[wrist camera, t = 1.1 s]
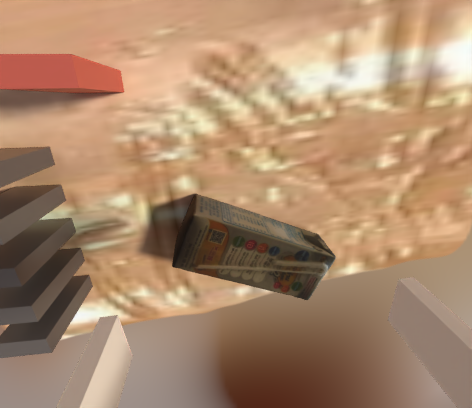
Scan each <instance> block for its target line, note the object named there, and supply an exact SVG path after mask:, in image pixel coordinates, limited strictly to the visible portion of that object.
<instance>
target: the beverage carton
mask: <svg viewBox="0 0 472 408" xmlns="http://www.w3.org/2000/svg"><path fill="white" fill-rule="evenodd" d="M335 258H336V257H335V255H334V254H333V253H332V251H331V250H330V249H329V248H328V246H327V245H326V243H325V242H324V241H323V240H322V239H321V237H320V236H319V235H318V234H315V233H312V232H310V231H306V230H303V229H300V228H297V227H294V226H291V225H289V224H286V223H283V222H280V221H277V220H274V219H271V218H268V217H265V216H262V215H259V214H256V213H253V212H250V211H247V210H244V209H241V208H238V207H235V206H232V205H229V204H226V203H223V202H220V201H217V200H214V199H210V198H208V197H204V196H201V195H198V194H195V196H194V198H193V200H192V202H191V204H190V206H189V208H188V211H187V213H186V215H185V217H184V220H183V222H182V225H181V227H180V230H179V233H178V236H177V240H176V244H175V250H174V257H173V264H172V266H173V267H175V268H180V269H183V270H186V271H191V272H195V273H199V274H204V275H208V276H212V277H216V278H220V279H224V280H229V281H233V282H237V283H241V284H246V285H249V286H253V287H258V288H261V289H265V290H269V291H274V292H278V293H283V294H286V295H292V296H294V297H297V298H302V299H304V300H308V299H309V298H310V297H311V295H312V293H313V292H314V290H315V289H316V287H317V286H318V284H319V283H320V281H321V280H322V278H323V277H324V275H325V274H326V272H327V271H328V269H329V268H330V267H331V265H332V264H333V262H334V260H335Z"/></svg>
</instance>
